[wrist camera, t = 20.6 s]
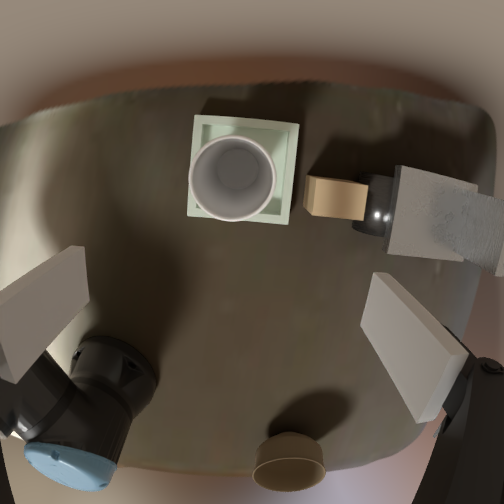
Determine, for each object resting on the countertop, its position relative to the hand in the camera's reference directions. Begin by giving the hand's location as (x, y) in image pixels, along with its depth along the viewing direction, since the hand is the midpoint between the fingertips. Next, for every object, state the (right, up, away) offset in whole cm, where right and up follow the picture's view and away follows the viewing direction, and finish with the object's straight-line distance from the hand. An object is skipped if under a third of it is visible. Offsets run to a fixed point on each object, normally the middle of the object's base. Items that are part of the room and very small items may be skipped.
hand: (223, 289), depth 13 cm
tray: (0, +12, +24) cm, 27 cm away
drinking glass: (0, +12, +24) cm, 27 cm away
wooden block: (+11, +9, +25) cm, 29 cm away
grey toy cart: (+23, +8, +26) cm, 35 cm away
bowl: (+7, -34, +39) cm, 52 cm away
